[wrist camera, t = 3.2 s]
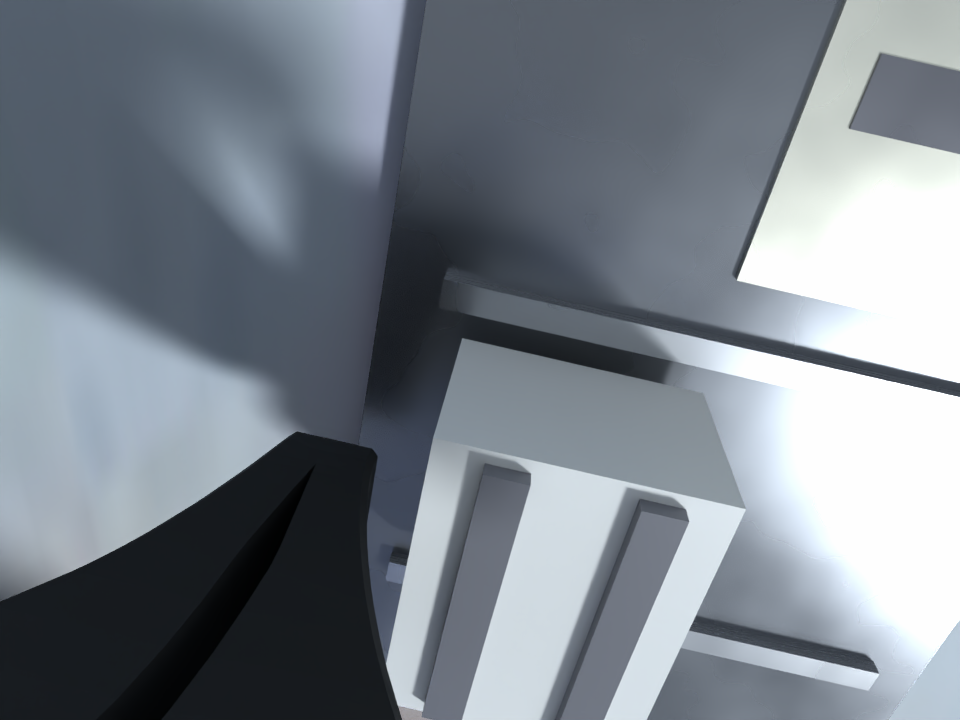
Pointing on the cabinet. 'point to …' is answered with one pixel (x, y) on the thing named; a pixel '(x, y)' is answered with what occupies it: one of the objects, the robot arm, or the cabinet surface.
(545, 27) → the label board
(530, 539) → the white grey striped block
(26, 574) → the cabinet surface
